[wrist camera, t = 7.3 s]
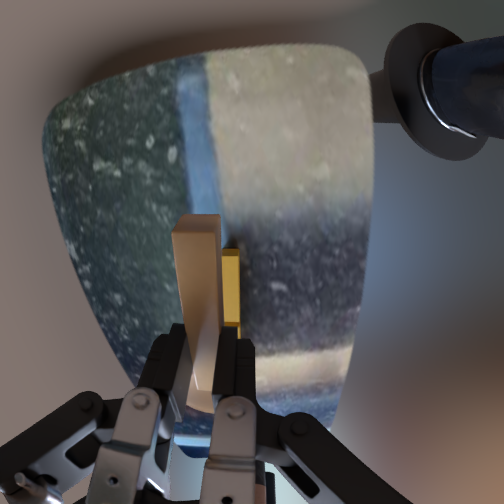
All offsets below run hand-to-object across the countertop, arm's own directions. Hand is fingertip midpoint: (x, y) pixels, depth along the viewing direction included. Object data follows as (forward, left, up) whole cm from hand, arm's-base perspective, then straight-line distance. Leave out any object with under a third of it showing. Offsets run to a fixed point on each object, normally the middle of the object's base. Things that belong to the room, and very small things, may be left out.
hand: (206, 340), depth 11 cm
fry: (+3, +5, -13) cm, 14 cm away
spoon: (0, 0, -1) cm, 1 cm away
